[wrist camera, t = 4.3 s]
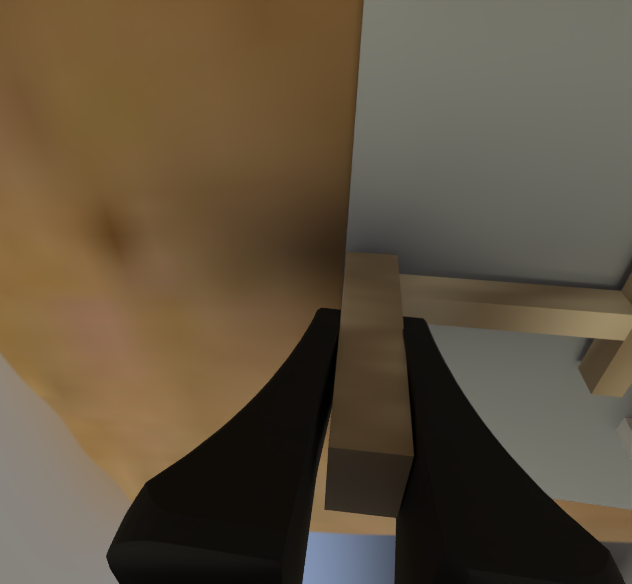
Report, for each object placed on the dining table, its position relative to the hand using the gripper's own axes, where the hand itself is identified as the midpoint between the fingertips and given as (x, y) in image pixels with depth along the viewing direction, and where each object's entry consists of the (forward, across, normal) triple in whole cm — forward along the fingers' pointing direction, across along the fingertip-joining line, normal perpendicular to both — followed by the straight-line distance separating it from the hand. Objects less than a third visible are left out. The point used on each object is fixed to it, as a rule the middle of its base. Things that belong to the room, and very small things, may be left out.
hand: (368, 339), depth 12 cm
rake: (+3, -4, 0) cm, 5 cm away
